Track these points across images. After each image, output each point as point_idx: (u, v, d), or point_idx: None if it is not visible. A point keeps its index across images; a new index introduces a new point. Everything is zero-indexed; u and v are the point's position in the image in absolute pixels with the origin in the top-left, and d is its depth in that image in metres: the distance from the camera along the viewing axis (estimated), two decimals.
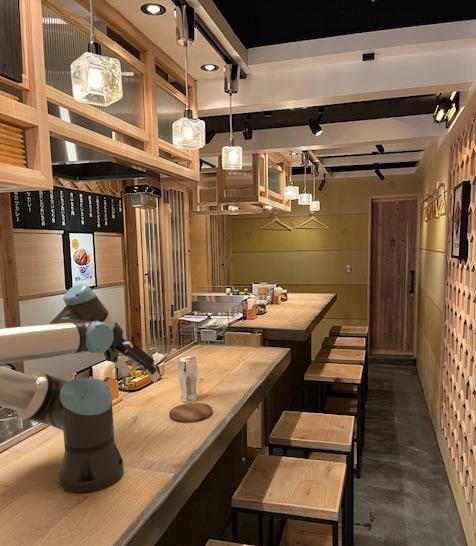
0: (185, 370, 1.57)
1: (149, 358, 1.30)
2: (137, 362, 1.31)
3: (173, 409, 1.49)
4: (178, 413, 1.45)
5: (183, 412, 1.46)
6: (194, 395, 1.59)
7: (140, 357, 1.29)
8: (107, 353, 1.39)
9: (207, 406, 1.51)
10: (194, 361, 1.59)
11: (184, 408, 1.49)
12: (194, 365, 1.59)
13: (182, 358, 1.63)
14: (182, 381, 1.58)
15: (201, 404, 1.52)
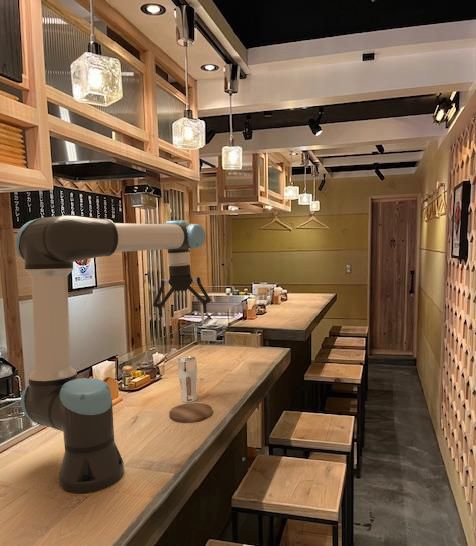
0: (185, 370, 1.57)
1: None
2: (198, 298, 1.58)
3: (173, 409, 1.49)
4: (178, 413, 1.45)
5: (183, 412, 1.46)
6: (194, 395, 1.59)
7: (205, 291, 1.58)
8: (159, 297, 1.56)
9: (207, 406, 1.51)
10: (194, 361, 1.59)
11: (184, 408, 1.49)
12: (194, 365, 1.59)
13: (182, 358, 1.63)
14: (182, 381, 1.58)
15: (201, 404, 1.52)
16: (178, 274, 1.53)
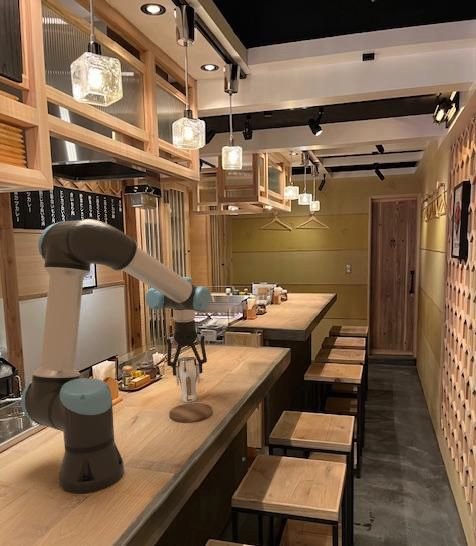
0: (185, 370, 1.57)
1: None
2: (196, 357, 1.60)
3: (173, 409, 1.49)
4: (178, 413, 1.45)
5: (183, 412, 1.46)
6: (194, 395, 1.59)
7: None
8: None
9: (207, 406, 1.51)
10: (194, 361, 1.59)
11: (184, 408, 1.49)
12: (194, 365, 1.59)
13: (182, 358, 1.63)
14: (182, 381, 1.58)
15: (201, 404, 1.52)
16: (183, 330, 1.56)
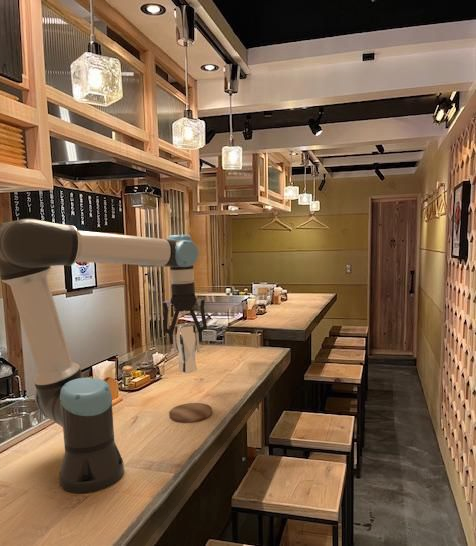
0: (183, 337, 1.42)
1: None
2: (195, 323, 1.45)
3: (173, 409, 1.49)
4: (178, 413, 1.45)
5: (183, 412, 1.46)
6: (193, 365, 1.44)
7: None
8: (167, 321, 1.44)
9: (207, 406, 1.51)
10: (193, 327, 1.44)
11: (184, 408, 1.49)
12: (193, 332, 1.44)
13: (180, 325, 1.48)
14: (180, 349, 1.43)
15: (201, 404, 1.52)
16: (181, 293, 1.41)
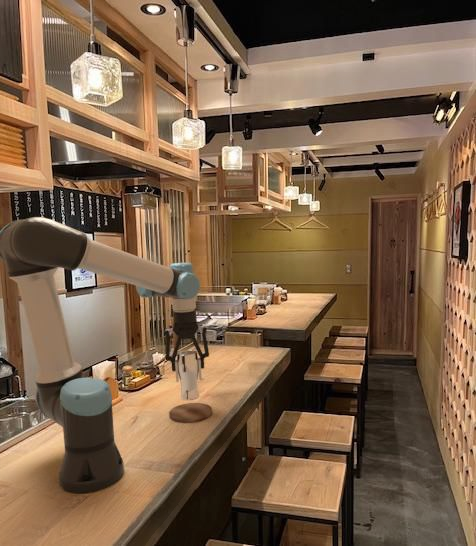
0: (185, 365, 1.43)
1: None
2: (197, 350, 1.45)
3: (173, 409, 1.49)
4: (178, 413, 1.45)
5: (183, 412, 1.46)
6: (195, 392, 1.45)
7: None
8: (169, 348, 1.44)
9: (207, 406, 1.51)
10: (195, 355, 1.44)
11: (184, 408, 1.49)
12: (195, 359, 1.44)
13: (182, 352, 1.48)
14: (182, 377, 1.44)
15: (201, 404, 1.52)
16: (183, 321, 1.41)
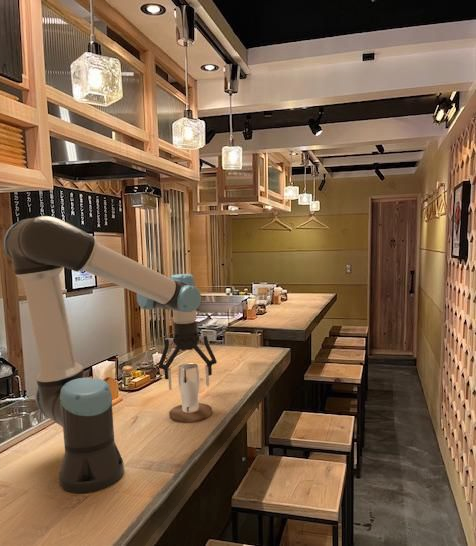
0: (186, 379, 1.43)
1: (214, 356, 1.48)
2: (203, 359, 1.46)
3: (173, 409, 1.49)
4: (178, 413, 1.45)
5: None
6: (196, 406, 1.45)
7: (211, 351, 1.46)
8: None
9: (207, 406, 1.51)
10: (196, 369, 1.45)
11: None
12: (196, 373, 1.44)
13: (183, 365, 1.48)
14: (183, 391, 1.44)
15: (201, 404, 1.52)
16: (184, 333, 1.42)
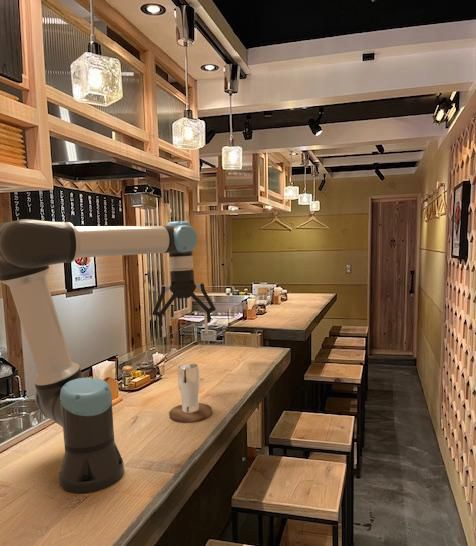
0: (186, 379, 1.43)
1: None
2: (201, 306, 1.44)
3: (173, 409, 1.49)
4: (178, 413, 1.45)
5: None
6: (196, 406, 1.45)
7: (209, 298, 1.45)
8: None
9: (207, 406, 1.51)
10: (196, 369, 1.45)
11: None
12: (196, 373, 1.44)
13: (183, 365, 1.49)
14: (183, 391, 1.44)
15: (201, 404, 1.52)
16: (180, 280, 1.40)
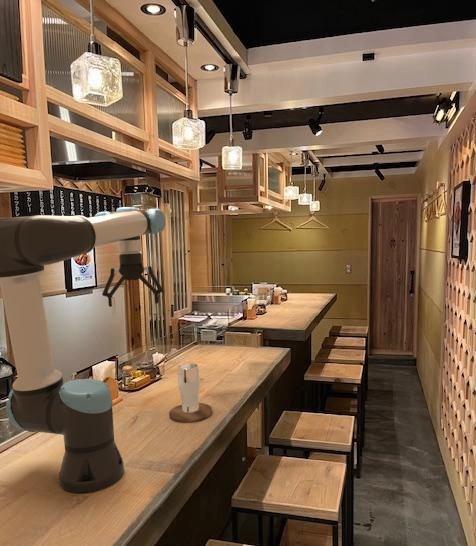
0: (186, 379, 1.43)
1: (160, 285, 1.55)
2: (149, 287, 1.53)
3: (173, 409, 1.49)
4: (178, 413, 1.45)
5: None
6: (196, 406, 1.45)
7: (157, 280, 1.53)
8: (109, 286, 1.51)
9: (207, 406, 1.51)
10: (196, 369, 1.45)
11: None
12: (196, 373, 1.44)
13: (183, 365, 1.49)
14: (183, 391, 1.44)
15: (201, 404, 1.52)
16: (128, 262, 1.49)
